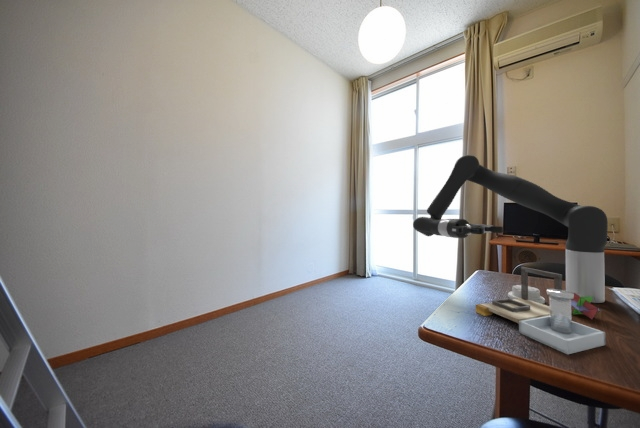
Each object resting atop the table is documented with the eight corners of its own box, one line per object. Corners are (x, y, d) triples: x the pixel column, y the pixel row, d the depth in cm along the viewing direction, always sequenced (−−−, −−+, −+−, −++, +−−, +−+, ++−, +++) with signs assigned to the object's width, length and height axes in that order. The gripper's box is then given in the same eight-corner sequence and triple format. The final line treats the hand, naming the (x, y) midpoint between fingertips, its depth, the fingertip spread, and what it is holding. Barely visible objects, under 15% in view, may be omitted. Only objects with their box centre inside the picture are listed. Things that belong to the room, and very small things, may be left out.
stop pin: (555, 324, 64) (554, 288, 65) (579, 333, 59) (578, 293, 60) (542, 326, 63) (541, 289, 63) (566, 335, 58) (565, 295, 58)
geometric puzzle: (616, 316, 65) (595, 288, 70) (593, 317, 65) (573, 288, 70) (591, 322, 71) (573, 295, 76) (570, 323, 71) (553, 296, 75)
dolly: (521, 304, 79) (520, 266, 79) (564, 319, 68) (563, 274, 68) (475, 312, 74) (475, 270, 74) (514, 329, 63) (513, 281, 63)
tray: (553, 325, 65) (553, 314, 65) (605, 344, 55) (605, 332, 55) (518, 332, 62) (518, 321, 62) (567, 354, 52) (567, 341, 52)
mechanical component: (518, 304, 80) (552, 306, 78) (518, 291, 80) (552, 293, 78) (502, 294, 90) (532, 295, 88) (502, 282, 90) (532, 284, 88)
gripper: (438, 219, 92) (475, 220, 77) (467, 218, 96) (508, 218, 81) (439, 238, 92) (476, 243, 77) (467, 236, 96) (509, 240, 81)
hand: (492, 230), depth 79 cm, fingers open, 8 cm apart
